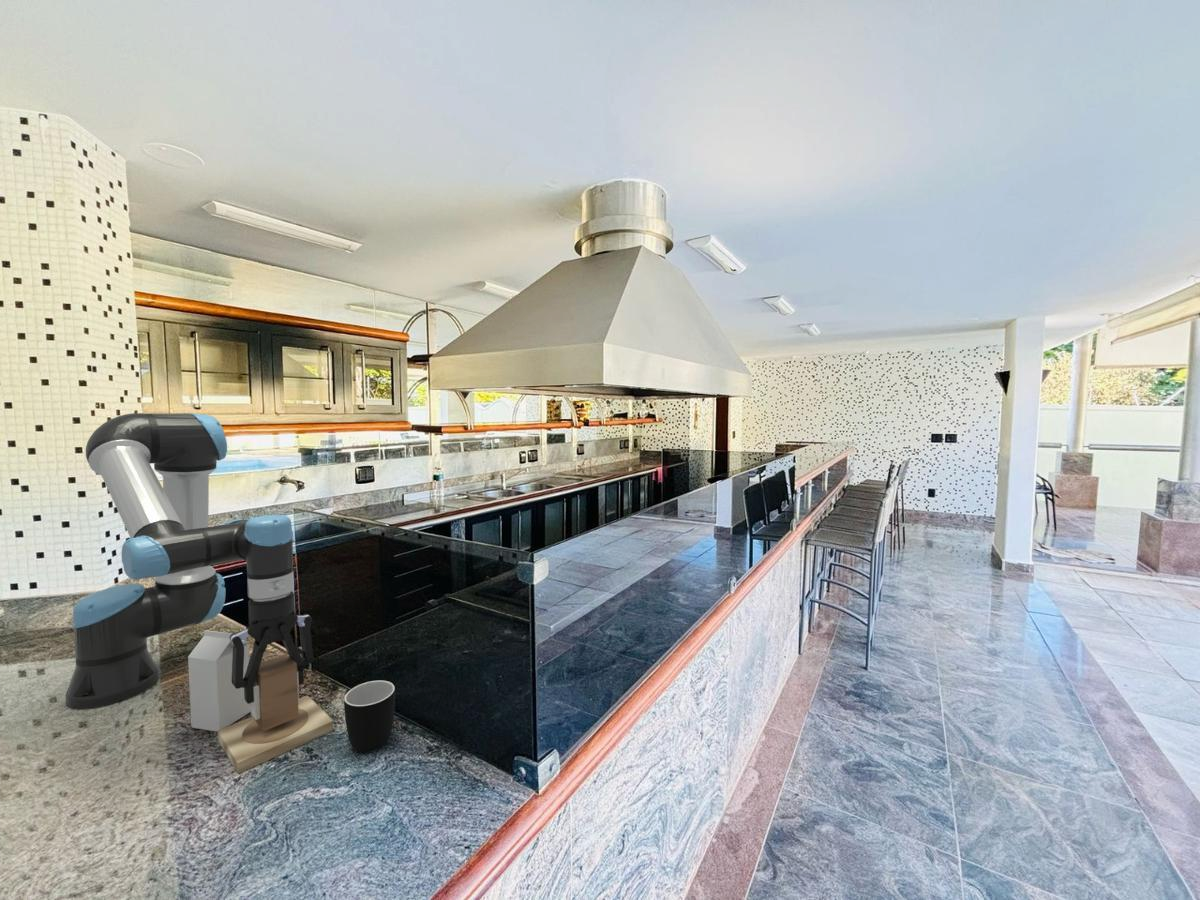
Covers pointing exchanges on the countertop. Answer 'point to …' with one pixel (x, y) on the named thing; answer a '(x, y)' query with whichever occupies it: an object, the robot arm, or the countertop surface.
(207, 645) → the milk carton
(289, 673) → the block
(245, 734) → the board
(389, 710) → the mug
